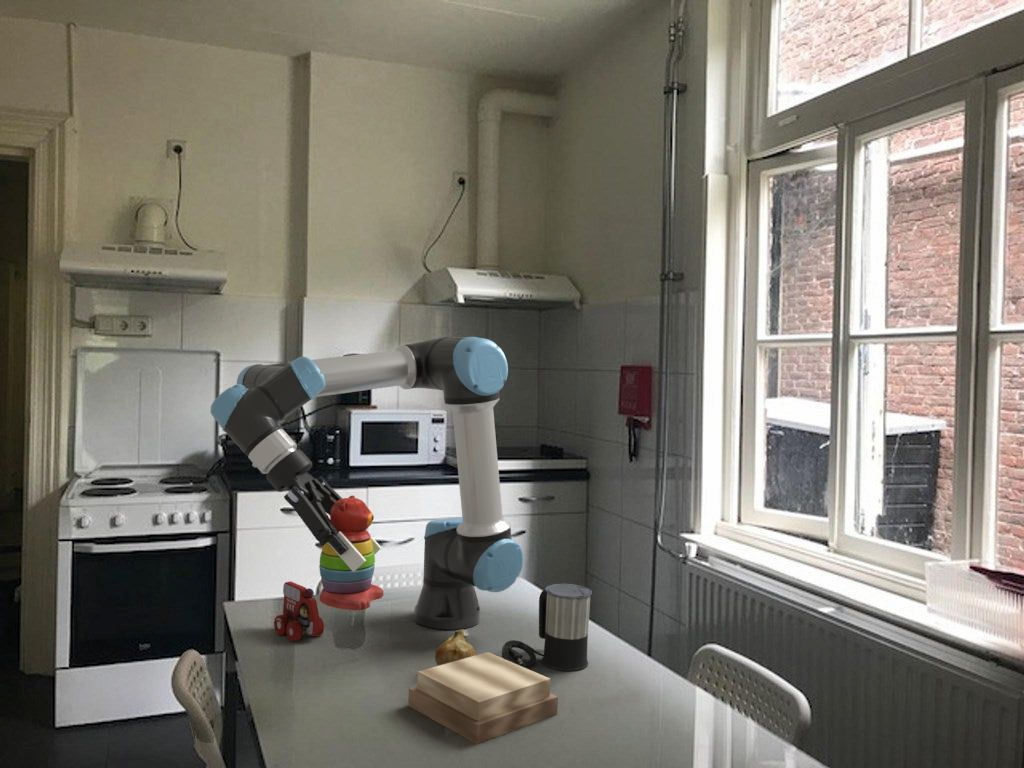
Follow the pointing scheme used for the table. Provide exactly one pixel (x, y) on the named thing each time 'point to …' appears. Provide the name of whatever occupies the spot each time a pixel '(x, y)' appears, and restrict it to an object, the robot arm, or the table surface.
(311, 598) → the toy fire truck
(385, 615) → the table surface
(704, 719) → the table surface
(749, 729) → the table surface
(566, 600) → the milk frother
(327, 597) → the stacking bear
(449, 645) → the onion
